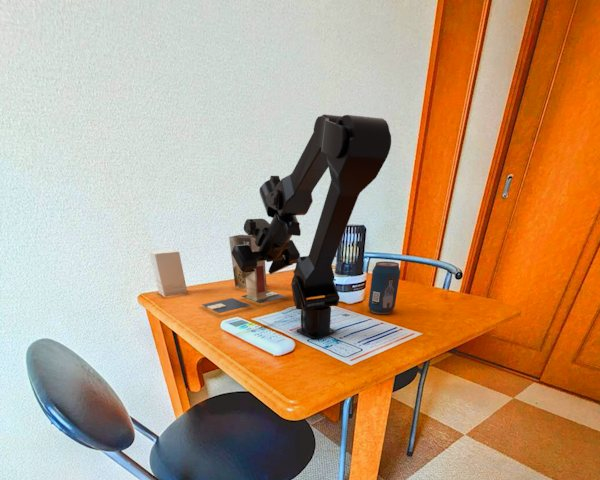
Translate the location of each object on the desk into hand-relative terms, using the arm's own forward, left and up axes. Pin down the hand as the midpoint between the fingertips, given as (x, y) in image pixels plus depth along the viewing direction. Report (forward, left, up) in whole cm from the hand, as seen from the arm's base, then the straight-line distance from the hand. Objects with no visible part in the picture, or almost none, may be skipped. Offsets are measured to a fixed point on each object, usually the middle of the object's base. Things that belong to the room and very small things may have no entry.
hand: (256, 275), depth 88 cm
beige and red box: (+1, 0, -6) cm, 7 cm away
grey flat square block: (+1, -3, -8) cm, 8 cm away
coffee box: (+14, -7, -8) cm, 17 cm away
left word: (+1, +10, -8) cm, 13 cm away
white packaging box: (+26, +15, -8) cm, 31 cm away
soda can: (-30, -20, -2) cm, 36 cm away
